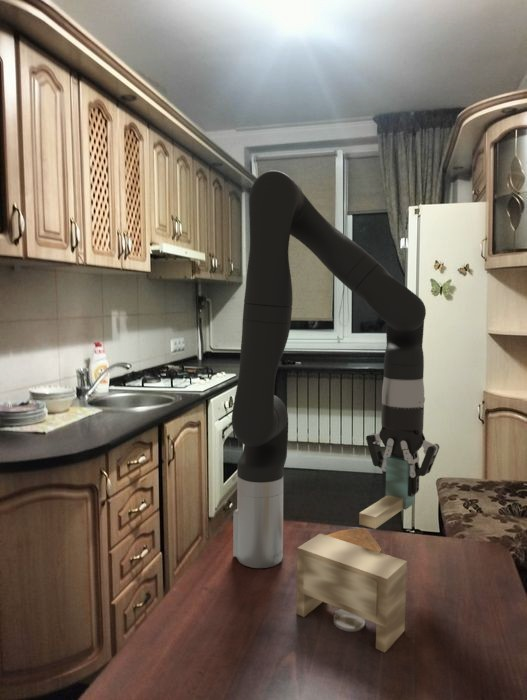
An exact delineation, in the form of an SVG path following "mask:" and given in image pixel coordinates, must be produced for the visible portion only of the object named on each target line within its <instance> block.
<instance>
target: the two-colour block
mask: <svg viewBox="0 0 527 700" xmlns="http://www.w3.org/2000/svg"><path fill="white" fill-rule="evenodd" d="M407 462H408V461H405V458H403V457H400V456H392V455H391V457H390V458H389V457H386V491H385V495H384V497H382V498H380V499H379V500H378V501H376V502H375V503H372V504H371V505H369V506H368V507H367V508H364V509H363V510H361V511H360V512H358V513H359V515H358V518H359V520H358V521H359V522H358V524H359V525H360V526H363V527H367V528H370V529H375V530H376V529H377V528H379V527H380V526H381V525H382V524H384V523H386V522H387V521H389V520H390V519H392V517H394V516H395V515H397V514H398V513H399V512H401V511H403V510H404V511H405V510H407V509H409V508H410V507H412V506H414V504H415V499H416V498H415V495H416V494H415V495H414V496H413V497H410V496H408V477H409V476H410V475H409V471H408V463H407Z"/></svg>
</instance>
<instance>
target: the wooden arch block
mask: <svg viewBox="0 0 527 700" xmlns="http://www.w3.org/2000/svg"><path fill="white" fill-rule="evenodd" d="M327 535H328V534H324V533H319V534H317V535H316V536H314V537H312V538H310V539H309V540H308V541H306V542H304V543H303V544H301V545H299V546H298V547H297V552H296V555H297V557H296V563H297V564H296V565H297V566H296V615H299V617H300V616H301V617H303V618H305V617H306V616H308V615H309V614H310V613H312V611H313V610H315V609H316V608H318V606H319V605H321V604H322V603H325V604H328V605H329V606H333V607H336V608H338V609H342V610H345V611H347V612H350V613H352V614H354V615H357V616H359V617H362V618H364V619H365V620H367V621H369V622H372V623H374V624H376V626H375V627H376V630H375V632H376V633H375V649H376V650H378V651H380V652H381V653H386V652H387V651H388V650H389V649H390V648H391V647H392V645H393V644H394V643H395V642H396V641H397V640H398V639H399V638H400V636H401V635H402V634H403V633H404V632H405V628H406V596H407V595H406V594H407V574H408V573H407V571H408V570H407V566H408V564H407V563H408V561H407V560H404V559H401V558H398V557H396V556H392V555H388V554H386V553H383V552H377V551H374V550H370V549H367V548H364V547H361V546H358V545H355V544H352V543H349V542H345V541H342V540H339V539H336V538H333V537H330V536H327Z"/></svg>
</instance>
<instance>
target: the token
mask: <svg viewBox="0 0 527 700" xmlns="http://www.w3.org/2000/svg"><path fill="white" fill-rule="evenodd" d="M365 623H366V619H364V618H362V617H359V616H357V615H354V614H352V613H350V612H347V611H345V610H342V609H340V608H338V609H337V610H336V611H335V612H334V613H333V624H334V626H336V628H337V629H339V630H342V631H345V632H353V633H354V632H358V631H361V630H363V629H364V627H365V625H366V624H365Z"/></svg>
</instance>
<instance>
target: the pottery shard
mask: <svg viewBox="0 0 527 700" xmlns="http://www.w3.org/2000/svg"><path fill="white" fill-rule="evenodd" d="M326 535H327V536H330V537H333V538H336V539H339V540H342V541H345V542H349V543H352V544H355V545H358V546H361V547H364V548H367V549H370V550H374V551H377V552H380V553H382V549H381V546H380V545H379V544H378V542H377V541H376V539H375V538H374V537H373V535H372V534H371V533H370V532H369V531H368V530H367V529H366V528H365V527H362V528H361V527H360V528H350V529H343V530H338V531H334V532H331V533H329V534H326Z"/></svg>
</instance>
